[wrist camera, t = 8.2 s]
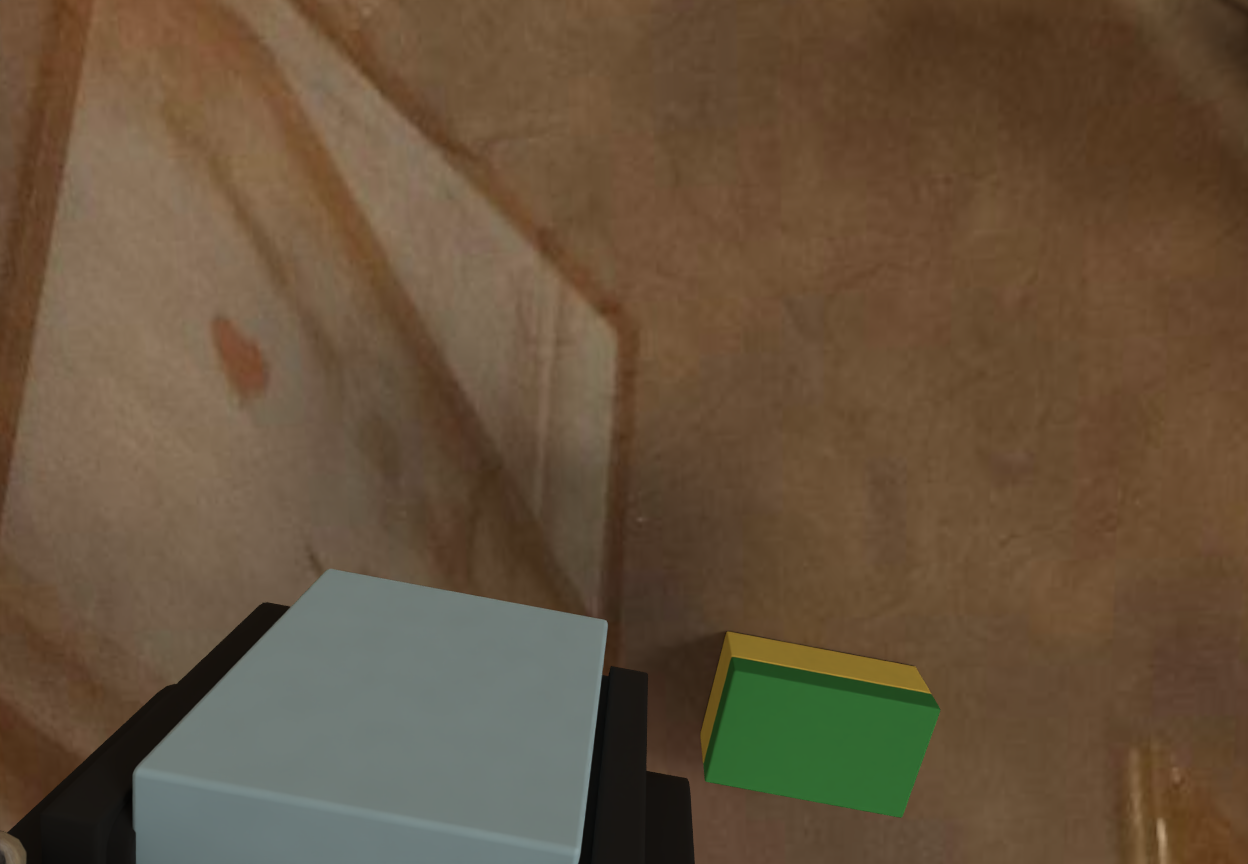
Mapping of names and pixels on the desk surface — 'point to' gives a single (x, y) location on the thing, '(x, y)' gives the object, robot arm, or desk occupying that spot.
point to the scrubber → (816, 725)
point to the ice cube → (384, 736)
